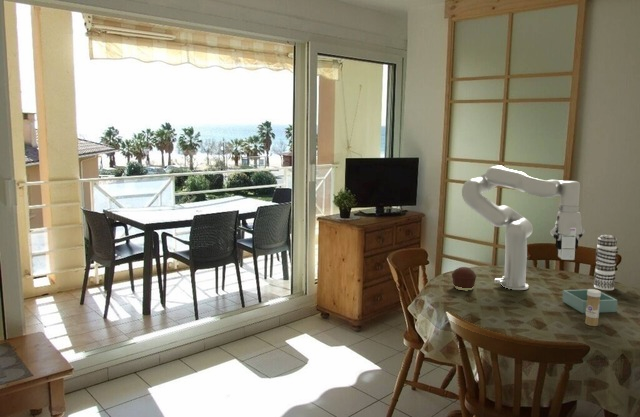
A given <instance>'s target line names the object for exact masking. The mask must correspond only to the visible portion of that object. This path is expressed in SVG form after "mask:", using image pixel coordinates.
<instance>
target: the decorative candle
mask: <svg viewBox="0 0 640 417" xmlns="http://www.w3.org/2000/svg"><path fill="white" fill-rule="evenodd" d="M597 239H598V241H597V246H596V247H597V248H596V249H595V257H594V258H595V261H594V262H595V263H596V267H595V272H594V279H593V281H594V282H593V287H594V288H595V289H596V290H598V289H599V290H602V291H613V290H615V286H616V284H615V283H616V281H615V280H616V270H615V268H616V265H617V262H616V261H618V259H617V258H618V255H617V254H618V253H619V252H618V250H619V248H618V247H617V243H618V239H617V238H616V237H615V235H611V234H601V235H600V236H599V237H597Z"/></svg>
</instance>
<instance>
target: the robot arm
mask: <svg viewBox="0 0 640 417" xmlns="http://www.w3.org/2000/svg"><path fill="white" fill-rule="evenodd" d="M580 183H581V182H579V181H577V180H559V179H548V180H546V179H545V180H544V179H540V178H535V177H532V176H529V175H528V174H526V173H525V172H523V171H518V170H514V169H509V168H507V167H505V166H503V165H495V166H490V167H489V168H488V169H487V170H486V172H484V174H481V175H479V176H478V177H474V178H473V177H472V178H470V179H468V180H466V181H465V182H464V184H463V185H462V188H461V194H462V195H461V197H462V199H463V201H464V202H465V204H466V205H467V206H468V207H469V208H470V209H471V210H473V211H474V212H475V213H476V214H478V215H479V216H480V217H482V218H483V219H484V220H485V221H487V222H488V223H489V224H491V225H492V226H494V227H497V228H500V227H504V228H505V231H504V242H505V244H504V246H505V250H504V252H505V256H504V274H503V275H502V276H501V277H500V278H494V279H493V282H494V283H497V284H498V283H499V285H500V284H501V285H502V286H503V287H505V288H504V289H506V288H508V289H507V290H510V289H512V290H511V291H524V290H525V291H526V290H528V289H529V286H530V285H529V284H528V283H526V282H527V280H526V279H527V278H526V277H527V276H526V275H527V260H528V259H527V258H528V256H527V255H528V245H527V244H528V243H527V242H528V241H527V238H529V237H530V236H531V235H532V234H533V230H534V227H533V224H532V223H531V221H529V219H527V218H526V217H524V216H523V215H521V214H520V213H519V212H517V211H516V210H515V209H513V208H512V207H510V206H508V205H497V203H494V202H493V201H491V200H490V199H489V198H487V197H485V196H483V195H482V194H485V193H487V192H489V191H491V190H492V189H494V188H496V187H498V186H499V187H504V188H508V189H513V190H516V191H519V192H522V193H525V194H528V195H531V196H536V197H540V198H546V199H550V198H554V197H557V196H560V197H559V206H557V207H556V209H557V211H558V212H557V215H556V218H555V223H554V224H555V226H554V227H553V228H551V230H549V234H550V235H551V236H552V237H553V238H554V240H555V249H557V250H558V249H559V250H560V249H561V243H562V241H561V238H562V235H570V233H571V229H570V228H576V238H575V250H578V246H579V241H580V239H581V238H582V237H583V235H584V234H585V233H586V230H585V229H584V228H583V226H582V215H581V212H579V209H580V193H581V192H580V191H581V184H580ZM501 285H500V286H501ZM502 286H501V287H502ZM503 287H502V288H503Z"/></svg>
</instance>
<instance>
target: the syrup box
mask: <svg viewBox="0 0 640 417" xmlns="http://www.w3.org/2000/svg"><path fill="white" fill-rule="evenodd" d="M570 229H571V233H570V235H562V238H561V241H562V243H561V249H560V250H559V249H557V257H558V258H559V259H561V260H565V261H574V260H575V255H576V253H575V252H576V249H575V238H576V228H570Z"/></svg>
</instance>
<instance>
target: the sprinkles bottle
mask: <svg viewBox="0 0 640 417" xmlns="http://www.w3.org/2000/svg"><path fill="white" fill-rule="evenodd" d="M586 290H587V289H586ZM601 292H602V291H600V289H599V290H598V289H597V288H595V289H594V288H588V290H587V307H586V313H585V321H584V323H585V324H586V325H587V326H590V327H597V326H599V317H600V313H599V306H600V296H601Z"/></svg>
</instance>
